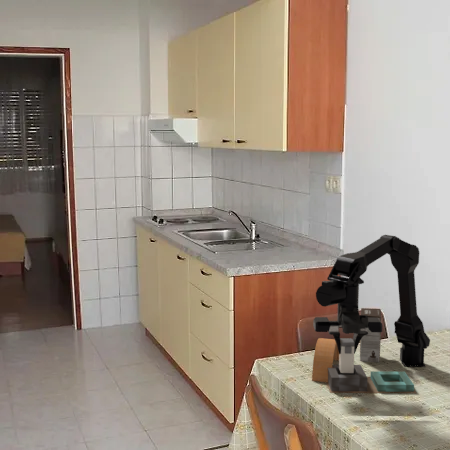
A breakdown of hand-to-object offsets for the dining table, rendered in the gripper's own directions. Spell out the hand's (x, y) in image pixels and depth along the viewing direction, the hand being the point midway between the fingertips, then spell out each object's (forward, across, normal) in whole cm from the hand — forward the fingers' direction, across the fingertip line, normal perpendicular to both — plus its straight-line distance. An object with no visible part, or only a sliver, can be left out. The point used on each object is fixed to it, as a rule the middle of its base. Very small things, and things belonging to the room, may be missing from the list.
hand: (346, 353), depth 178 cm
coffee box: (+10, +12, +23) cm, 28 cm away
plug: (+5, 0, 0) cm, 5 cm away
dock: (+10, +7, 0) cm, 12 cm away
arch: (+10, -4, +12) cm, 16 cm away
